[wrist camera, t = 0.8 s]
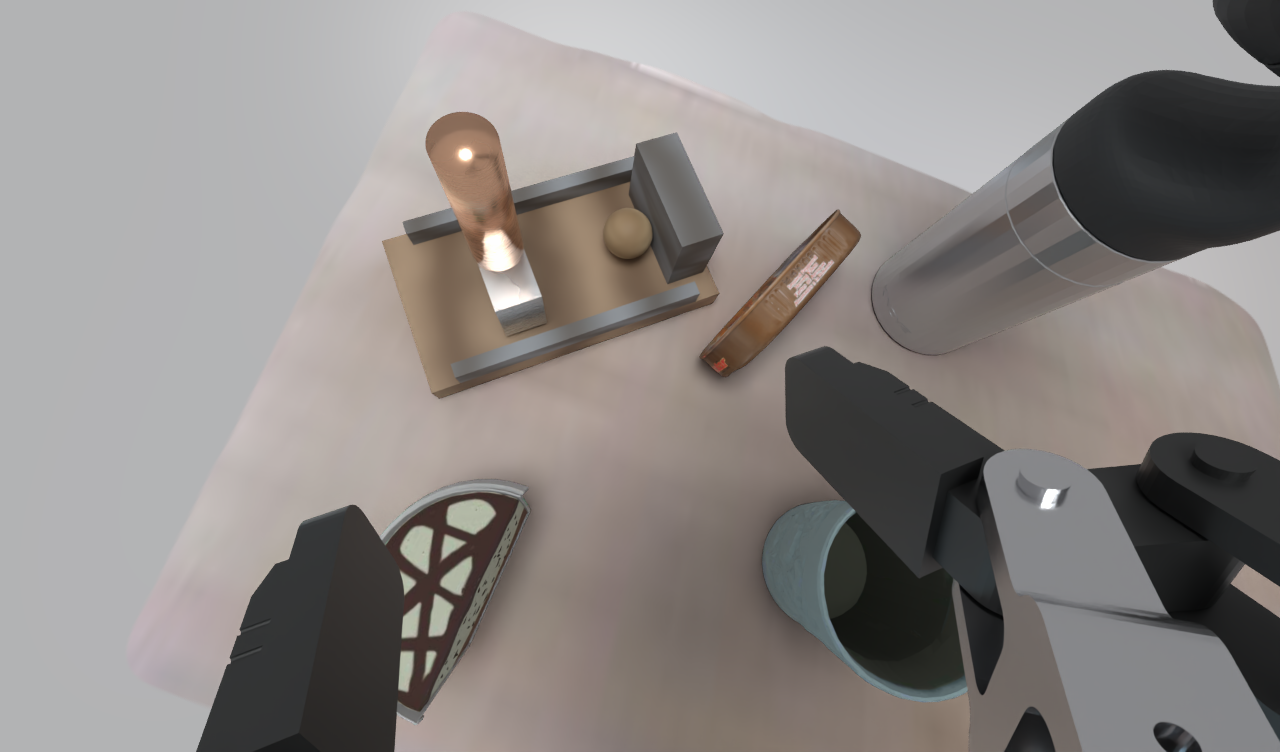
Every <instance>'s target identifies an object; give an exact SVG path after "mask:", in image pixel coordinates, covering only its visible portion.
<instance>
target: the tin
mask: <svg viewBox="0 0 1280 752" xmlns="http://www.w3.org/2000/svg"><path fill="white" fill-rule="evenodd" d="M860 237H861V234H860V232H859V231H858V230H857V228H856V227H855V226H854V225H852V224H851V223H850V222H849V221H848V220H847V219H846V218H845V217H844V216H843V215H842V214H841V213H840V210H839V209H838V210H836V211H835V212H834V213H833V214H832V215H831V216H829V218H827V219H826V220H825V221H824V222H823V223H822V224H821V225H820V226H819V227H818V228H817V229H816V230H815V231H814V232H813V233H812V234H811V235H810V236H809V237H808V238H807V239H806V240H805V241H804V242H803V243H802V244H801V245H800V246H799V247H798V248H797V249H796V250H795V251H794V252H793V253H792V254H791V255H790V256H789V257H788V258H787V260H786V261H785V262H784V263H783V264H782V265H781V266H780V267H779V268H778V269H777V270H776V271H775V272H774V273H773V274H772V276H771V277H770V278H769V279H768V280H767V281H766V282H765V283H764V284H763V285H762V286H761V288H760V289H759V290H758V291H757V292H756V293H755V294H754V295H753V296H752V297H751V298H750V299H749V301H748V302H747V303H746V304H745V305H744V306H743V307H742V308H741V309H740V310H739V311H738V313H737V314H736V315H735V316H734V317H733V318H732V319H731V320H730V321H729V322H728V323H727V324H726V326H725V327H724V328H723V329H722V330H721V331H720V332H719V333H718V334H717V335H716V337H715V338H714V339H713V340H712V341H711V342H710V343H709V345H708V346H707V347H706V348H705V349H704V351H703V352H702V353H701V355H700V359H703V360H705V361H706V362H707V363H708V364H709V365H710V366H711V367H712V368H713V369H714V370H715V371H716V372H718V373H719V374H720V375H721V376H723V377H727V376H729V375H730V374H731V373H732V372H734V371H735V370H738V369H740V368H742V367H744V366H745V365H747V364H748V363H749V362H750V361H751V360H753V359H754V358H755V357H756V356H757V355H758V354H759V353H760V352H761V351H762V350H763V349H765V348H766V347H767V346H768V345H769V343H770V342H772V341H773V339H774V338H775V337H776V336H777V335H778V334H779V333H780V332H781V331H782V330H783V329H784V328H785V327H786V326H787V325H788V324H789V322H790V321H791V320H792V319H793V318H794V317H795V316H796V315H797V314H798V312H799V311H800V310H801V309H802V308H803V307H804V306H805V305H806V303H807V302H808V301H809V300H810V299H811V298H812V297H813V296H814V294H815V293H816V292H817V291H818V290H819V289H820V288H821V286H822V285H823V284H824V283H825V282H826V281H827V280H828V278H829V277H830V276H831V275H832V274H833V272H834V271H835V270H836V269H837V268H838V267H839V265H840V264H841V263H842V262H843V261H844V259H845V258H846V257H847V256H848V255H849V254H850V252H851V251H852V250H853V249H854V247H855V246H856V245H857V243H858V242H859V240H860Z"/></svg>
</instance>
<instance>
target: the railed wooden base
mask: <svg viewBox="0 0 1280 752" xmlns="http://www.w3.org/2000/svg"><path fill="white" fill-rule="evenodd" d="M511 192H512V197H513V201H514V206H515V210H516V214H517V219H518V223H519V228H520V232H521V236H522V241H523V246H524V251H525V253H526V256H527V259H528V261H529V264H530V267H531V269H532V272H533V274H534V277H535V280H536V282H537V285H538V288H539V290H540V293H541V295H542V300H543V305H544V310H545V315H546V320H547V323H545V324H542V325H539V326H536V327H533V328H530V329H527V330H524V331H521V332H518V333H515V334H512V335H509V336H506V335H505V332H504V330H503V328H502V326H501V324H500V321H499V319H498V317H497V315H496V313H495V310H494V308H493V305H492V302H491V299H490V296H489V294H488V291H487V288H486V285H485V283H484V280H483V277H482V274H481V272H480V269H479V266H478V263H477V262H476V260H475V259H474V257H473V254H472V252H471V250H470V248H469V245H468V243H467V241H466V239H465V236H464V234H463V232H462V230H461V227H460V225H459V223H458V221H457V218H456V216H455V214H454V212H453V209H452V208H450V209H446V210H443V211H439V212H436V213H432V214H429V215H425V216H422V217H418V218H414V219H411V220H407V221H404V222H403V225H404V228H405V231H406V234H405V235H402V236H398V237H395V238H391V239H388V240H384V241H382V243H383V246H384V249H385V252H386V255H387V258H388V261H389V264H390V267H391V270H392V273H393V276H394V279H395V282H396V285H397V289H398V292H399V295H400V298H401V301H402V304H403V307H404V310H405V313H406V316H407V319H408V322H409V325H410V328H411V331H412V334H413V337H414V340H415V343H416V347H417V350H418V353H419V356H420V359H421V362H422V365H423V368H424V371H425V374H426V377H427V380H428V383H429V386H430V389H431V392H432V394H434V395H435V396H437V397H438V398H439V399H440V398H443V397H445V396H448V395H451V394H454V393H457V392H460V391H463V390H465V389H468V388H471V387H474V386H477V385H480V384H483V383H485V382H488V381H491V380H494V379H497V378H500V377H503V376H505V375H508V374H511V373H514V372H517V371H520V370H523V369H525V368H528V367H531V366H534V365H537V364H540V363H543V362H545V361H548V360H551V359H554V358H557V357H560V356H563V355H565V354H568V353H571V352H574V351H577V350H580V349H583V348H585V347H588V346H591V345H594V344H597V343H600V342H603V341H605V340H608V339H611V338H614V337H617V336H620V335H623V334H625V333H628V332H631V331H634V330H637V329H640V328H643V327H645V326H648V325H651V324H654V323H657V322H660V321H663V320H665V319H668V318H671V317H674V316H677V315H680V314H683V313H685V312H688V311H691V310H694V309H697V308H700V307H703V306H705V305H708V304H711V303H713V302H714V300H715V299H716V297H717V296H718V294H719V292H718V290H717V287H716V285H715V283H714V281H713V278H712V276H711V274H710V272H709V270H708V267H707V264H708V262H709V260H710V258H711V256H712V254H713V253H714V251H715V249H716V247H717V245H718V243H719V241H720V239H721V238H722V236H723V234H724V233H723V231H722V229H721V227H720V225H719V223H718V220H717V218H716V216H715V214H714V212H713V210H712V207H711V205H710V203H709V201H708V199H707V197H706V194H705V192H704V190H703V188H702V186H701V184H700V181H699V179H698V177H697V175H696V173H695V171H694V169H693V166H692V164H691V162H690V160H689V158H688V156H687V153H686V151H685V149H684V147H683V145H682V143H681V140H680V138H679V136H678V134H677V133H673V134H669V135H666V136H662V137H659V138H655V139H652V140H648V141H644V142H641V143H637V144H636V149H635V155H634V156H633V157H630V158H626V159H623V160H619V161H616V162H612V163H609V164H605V165H602V166H598V167H594V168H591V169H587V170H584V171H580V172H577V173H573V174H570V175H566V176H563V177H559V178H556V179H552V180H549V181H545V182H542V183H538V184H534V185H531V186H527V187H524V188H520V189H517V190H513V191H511ZM623 208H633V209H636V210H639V211H640V212H642V213H643V214H644V215H645V216H646V217H647V218H648V220H649V221H650V223H651V226H652V233H653V235H652V241H651V244H650V246H649V248H648V249H647V250H646V251H645V252H644V253H643V254H642V255H640V256H639V257H636V258H633V259H623V258H620V257H617V256H616V255H614V254H613V253H612V252H611V251H610V250H609V249H608V248H607V246H606V244H605V241H604V237H603V230H604V225H605V223H606V221H607V219H608V218H609V216H610V215H611V214H612V213H614V212H615V211H617V210H619V209H623Z"/></svg>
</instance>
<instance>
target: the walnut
mask: <svg viewBox="0 0 1280 752" xmlns="http://www.w3.org/2000/svg"><path fill="white" fill-rule="evenodd" d="M652 235H653V233H652V226H651V223H650V221H649V220H648V218H647V217H646V216H645V215H644V214H643V213H642V212H640V211H639V210H636V209H633V208H623V209H619V210H617V211H615V212H614V213H612V214H611V215H610V216H609V218H608V219H607V221H606V223H605V225H604V230H603V237H604V241H605V244H606V246H607V248H608V249H609V250H610V251H611V252H612V253H613V254H614V255H616V256H617V257H620V258H623V259H633V258H636V257H639V256H640V255H642V254H643V253H644V252H645V251H646V250H647V249H648V248H649V246H650V244H651V241H652Z"/></svg>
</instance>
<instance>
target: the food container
mask: <svg viewBox="0 0 1280 752" xmlns="http://www.w3.org/2000/svg"><path fill="white" fill-rule="evenodd" d="M528 488H529V487H527V486H524V485H521V484H518V483H515V482H510V481H503V480H497V479H476V480H470V481H463V482H458V483H455V484H452V485H449V486H446V487H442V488H440V489H438V490H436V491H434V492H432V493H430V494H428V495H426V496H424V497H423V498H421V499H420V500H418V501H417V502H415V503H414V504H412V505H411V506H409V507H408V508H407V509H406V510H405V511H404V512H403V513H402V514H400V515H399V516H398V517H397V518H396V519H395V520H394V521H393V522H392V523H390V525H389V526H388V527H387V528H386V529H385V531H384V532H383V533H382V534H381V535H380V538H381V540H382V541H383V543H384V544H385V546H386V547H387V549H388V550H389V552H390V553H391V555H392V556H393V558H394V559H395V561H396V563H397V565H398V567H399V570H400V573H401V576H402V580H403V586H404V610H403V625H402V641H401V656H400V671H399V686H398V702H397V715H398V716H400V717H401V718H403V719H405V720H407V721H409V722H411V723H413V724H414V725H417V724H418V723H419V722H420V721H421V720H423V718H424V715H423V714H424V712H425V711H426V709H427V708H428V706H429V705H430V703H431V702H432V700H433V699H434V697H435V696H436V694H437V693H438V692H439V690H440V689H441V687H442V686H443V684H444V683H445V681H446V680H447V678H448V677H449V675H450V674H451V672H452V671H453V669H454V668H455V667H456V665H457V664H458V662H459V661H460V659H461V658H462V656H463V655H464V653H465V652H466V650H467V649H468V647H469V646H470V644H471V642H472V639H473V637H474V635H475V633H476V630H477V628H478V626H479V624H480V622H481V619H482V617H483V615H484V613H485V611H486V608H487V606H488V604H489V602H490V599H491V597H492V595H493V593H494V591H495V588H496V586H497V584H498V582H499V580H500V577H501V575H502V573H503V571H504V568H505V566H506V564H507V562H508V560H509V557H510V555H511V553H512V551H513V549H514V546H515V544H516V542H517V540H518V537H519V535H520V533H521V531H522V529H523V526H524V524H525V522H526V520H527V518H528V515H529V513H530V511H531V509H530V508H529V506H528V504H527V503H526V501H525V499H524V498H523V494H524V493H525V492H526V491H527V490H528Z"/></svg>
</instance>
